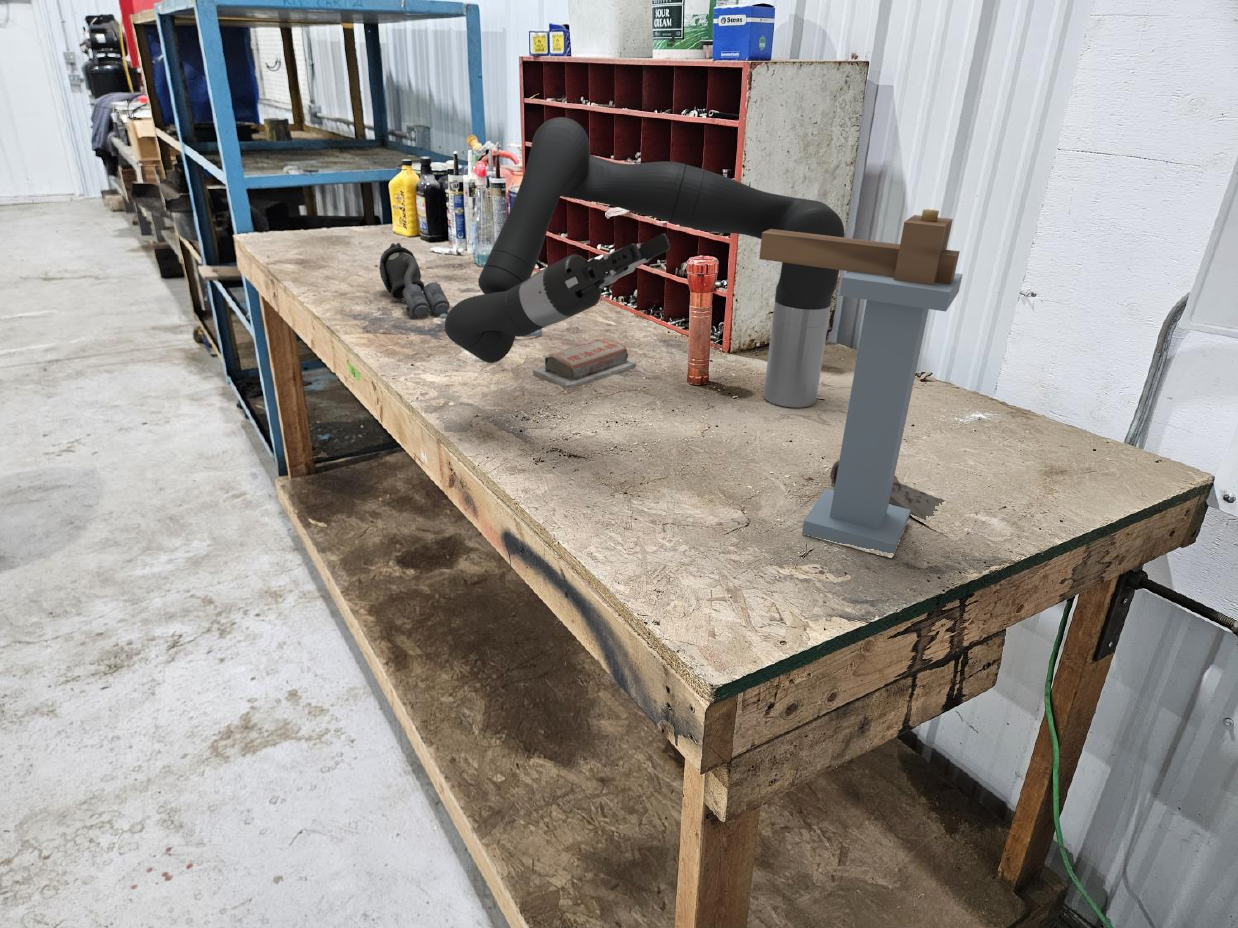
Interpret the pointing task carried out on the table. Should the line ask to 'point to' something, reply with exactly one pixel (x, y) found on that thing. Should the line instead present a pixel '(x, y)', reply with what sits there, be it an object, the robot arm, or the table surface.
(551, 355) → the packaged product
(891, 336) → the stand
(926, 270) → the marking gauge
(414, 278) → the gas mask
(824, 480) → the table surface
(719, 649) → the table surface
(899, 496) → the axe head
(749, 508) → the table surface
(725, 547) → the table surface
